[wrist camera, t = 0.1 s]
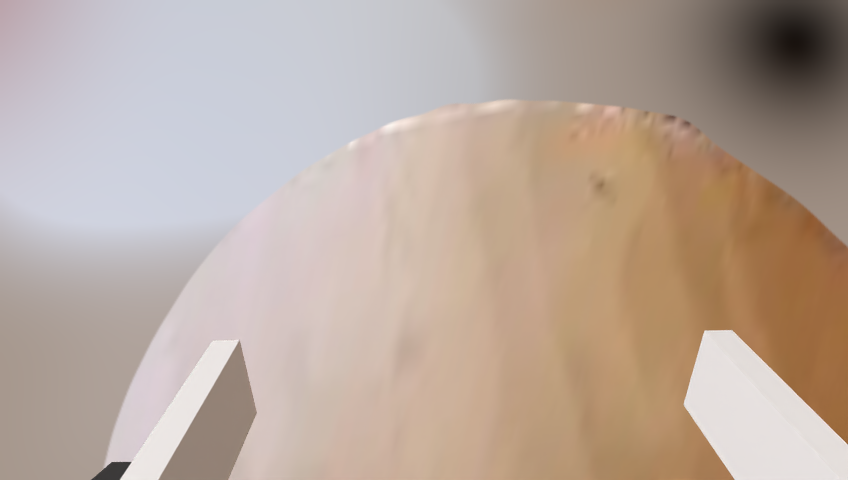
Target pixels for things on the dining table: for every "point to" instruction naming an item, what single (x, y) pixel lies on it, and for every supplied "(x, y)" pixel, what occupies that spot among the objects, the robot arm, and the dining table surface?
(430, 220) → the dining table surface
